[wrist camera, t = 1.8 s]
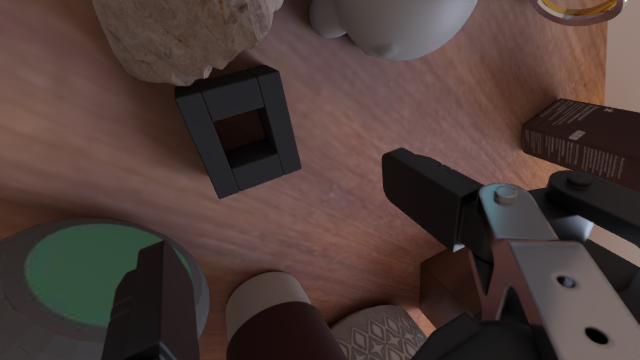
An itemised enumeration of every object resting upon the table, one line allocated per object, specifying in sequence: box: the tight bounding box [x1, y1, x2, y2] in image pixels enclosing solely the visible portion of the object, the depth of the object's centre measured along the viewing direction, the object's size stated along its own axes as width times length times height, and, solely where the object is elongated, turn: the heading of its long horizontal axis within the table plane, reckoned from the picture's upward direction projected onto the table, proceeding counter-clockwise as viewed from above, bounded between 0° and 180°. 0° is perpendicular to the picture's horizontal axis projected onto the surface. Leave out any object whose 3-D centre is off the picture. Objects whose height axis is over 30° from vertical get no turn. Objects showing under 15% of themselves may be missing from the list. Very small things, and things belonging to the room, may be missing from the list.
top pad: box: [175, 65, 301, 199], centre depth 18 cm, size 6×6×3 cm
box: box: [522, 98, 640, 193], centre depth 29 cm, size 6×4×12 cm
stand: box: [419, 246, 482, 329], centre depth 37 cm, size 10×10×8 cm
